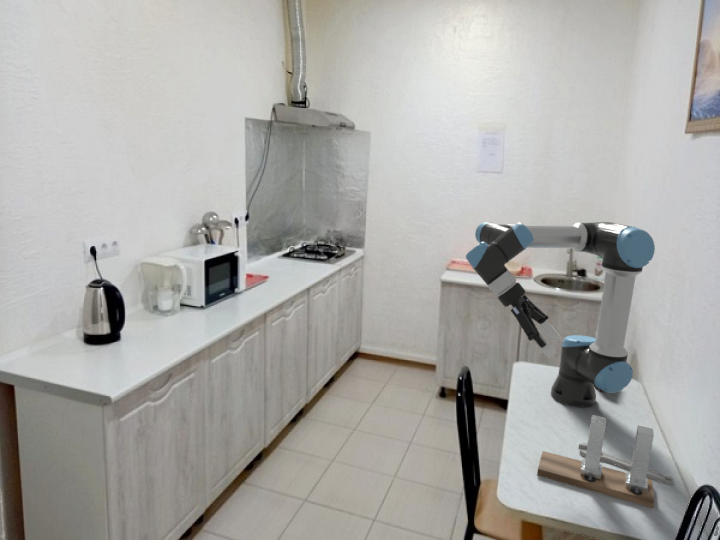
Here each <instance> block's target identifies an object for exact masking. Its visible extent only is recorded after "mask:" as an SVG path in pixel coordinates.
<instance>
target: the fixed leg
mask: <svg viewBox="0 0 720 540" xmlns="http://www.w3.org/2000/svg"><path fill="white" fill-rule="evenodd" d="M654 437H655V433H654V428H652V427H647V426H643V425H639V424H637V428H636V434H635V440H634V446H633V449H632V450H633V451H632V456H631V462H630V463H631V467H630V470H629V472H625V473H626V476H625V488H628V489H634V490H635V492H636V493H638V491H641V492H643V493H647V491H648V483H647V478H648V477H646V475H647V470H648V469H649V464H650V457H651V452H652V446H653V442H654Z"/></svg>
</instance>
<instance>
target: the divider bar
mask: <svg viewBox="0 0 720 540" xmlns="http://www.w3.org/2000/svg"><path fill="white" fill-rule="evenodd" d="M581 464H582V460H579V459H575V458H571V457H568V456H563V455H559V454H557V453H551V452H548V451H545V450H542V452H541V456H540V459H539V463H538V467H537V473H536V476H539V477H541V478H542V477H543V478H545V479H549V480H552V481H557V482H560V483H563V484H565V485H566V484H567V485H570V486H572V487H573V486H574V487H577V488H581V489H584V490H588V491H592V492H595V493H598V494H602V495H606V496H608V497H611V498H612V497H613V498H616V499H618V500H622V501H623V500H624V501H627V502H630V503H634V504H636V505H637V504H638V505H641V506H644V507H647V508H652V509H653V508H654V504H655V496H654V486H653V479H652V478H649V477H646V478H647V483H648V491H647V493H643V492H641V491H638V493H636V492H635V490H634V489H628V488H625V476H626V473H627V472H626V471H625V472H624V471H621V470H617V469H613V468H609V467H605V466H602V471H601V479H597V478H593V477H592V480H589V476H586V475H582V474H580V471H581Z"/></svg>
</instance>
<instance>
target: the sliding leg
mask: <svg viewBox="0 0 720 540" xmlns="http://www.w3.org/2000/svg"><path fill="white" fill-rule="evenodd" d="M590 419H591V420H590V425H589V432H588V439H587V450H586V457H584V458H585V459H581V461H582V464H581V471H580V474H582V475H586V476H589V480H592V477H593V478H597V479H601V471H602V467H603V466H602V464H600V463H601V460H600V458H601V452H602V451H603V445H604V444H603V443H604V437H605V432H606V425H607V418H606V417H604V416H598V415H595V414H591V417H590Z"/></svg>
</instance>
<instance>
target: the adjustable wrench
mask: <svg viewBox="0 0 720 540" xmlns="http://www.w3.org/2000/svg"><path fill="white" fill-rule="evenodd" d="M587 444H588V442H587V443H585V442H581V443H578V449H579V455H580V456H582V457H583V458H586V451H587ZM602 460H603V461H602ZM600 461H602V462H606V461H607V462H606V463H609V462H610V463H609V464H612V463H613V465H615V464H616V465H615V466H617V465H619V466H618V467H620V466H621V467H620V468H623V467H624V468H623V469H625V468H626V469H625V470H628V469H629V470H628V471H630V467H631V462H629V461H627V460H624V459H622V458H619V457H616V456H613V455H611V454H608V453H606V452H605V451H603V450H602V452H601V458H600ZM646 478H648V479H652V480H654V481H658V482H660V483H662V484H666V485H668V486H673V485H674V483H675V479H674V478H673V477H671V476H669V475H665V474H664V473H660V472H658V471H654V470H652V469H649V468H648V470H647V475H646Z"/></svg>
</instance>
